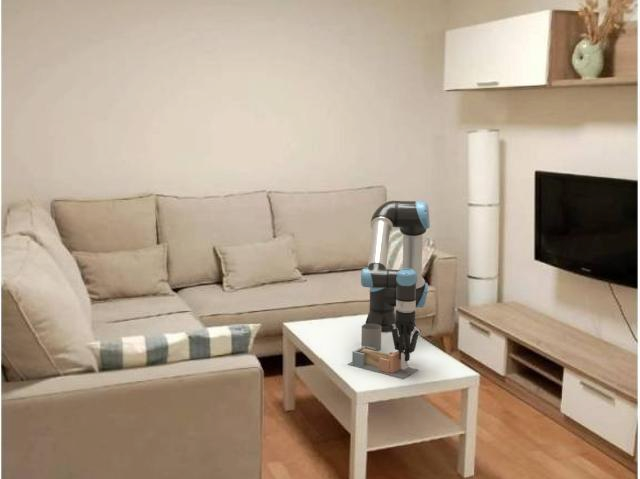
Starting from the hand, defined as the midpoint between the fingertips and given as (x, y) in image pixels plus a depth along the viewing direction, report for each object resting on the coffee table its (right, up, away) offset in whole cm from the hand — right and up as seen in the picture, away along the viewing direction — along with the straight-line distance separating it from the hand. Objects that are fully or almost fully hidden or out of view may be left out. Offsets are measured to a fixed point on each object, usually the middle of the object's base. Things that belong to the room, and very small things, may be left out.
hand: (404, 368), depth 290 cm
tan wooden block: (-10, 0, +7) cm, 12 cm away
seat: (-8, -1, +6) cm, 10 cm away
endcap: (-5, -1, +3) cm, 6 cm away
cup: (-11, +3, +28) cm, 30 cm away
